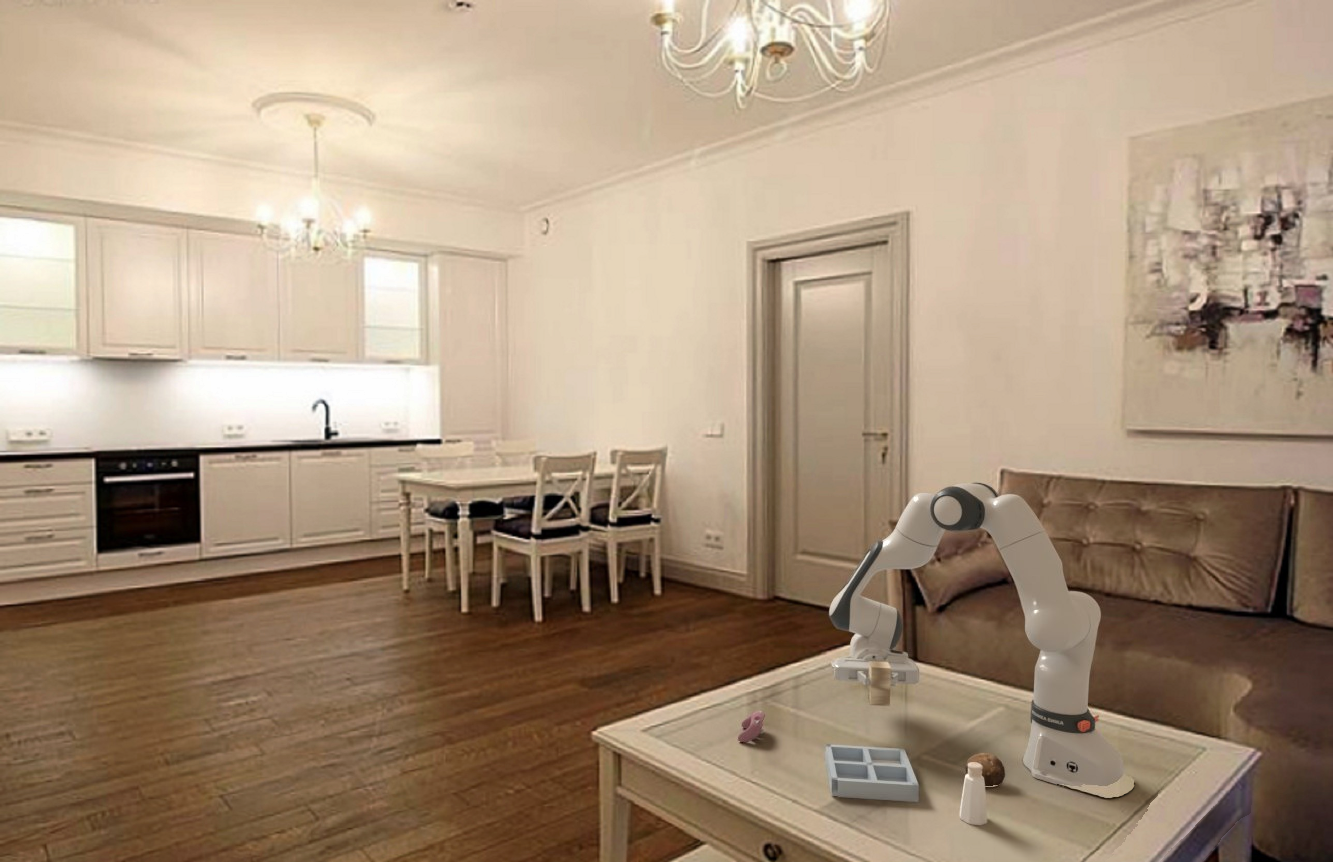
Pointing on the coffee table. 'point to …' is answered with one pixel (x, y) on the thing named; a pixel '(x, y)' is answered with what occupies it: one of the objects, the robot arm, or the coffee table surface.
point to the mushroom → (989, 768)
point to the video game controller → (752, 727)
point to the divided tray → (870, 773)
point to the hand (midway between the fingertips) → (879, 682)
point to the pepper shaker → (974, 796)
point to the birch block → (879, 683)
